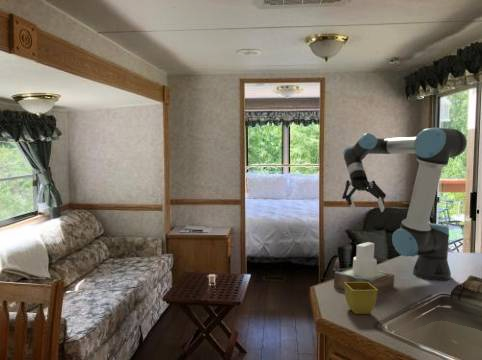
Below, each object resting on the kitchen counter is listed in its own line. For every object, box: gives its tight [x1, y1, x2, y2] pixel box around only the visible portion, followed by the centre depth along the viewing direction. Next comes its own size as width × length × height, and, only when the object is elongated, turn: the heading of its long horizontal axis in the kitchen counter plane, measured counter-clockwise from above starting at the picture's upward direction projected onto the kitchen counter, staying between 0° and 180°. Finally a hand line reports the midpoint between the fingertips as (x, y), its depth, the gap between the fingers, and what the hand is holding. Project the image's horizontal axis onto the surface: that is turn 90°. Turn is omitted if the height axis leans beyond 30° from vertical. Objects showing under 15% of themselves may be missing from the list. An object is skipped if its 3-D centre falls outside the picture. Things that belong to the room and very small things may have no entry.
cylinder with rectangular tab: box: [352, 241, 378, 277], centre depth 168 cm, size 9×9×12 cm
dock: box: [333, 267, 395, 296], centre depth 168 cm, size 16×19×6 cm
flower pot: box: [344, 282, 378, 315], centre depth 143 cm, size 9×9×9 cm
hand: (368, 210), depth 189 cm, fingers open, 13 cm apart
